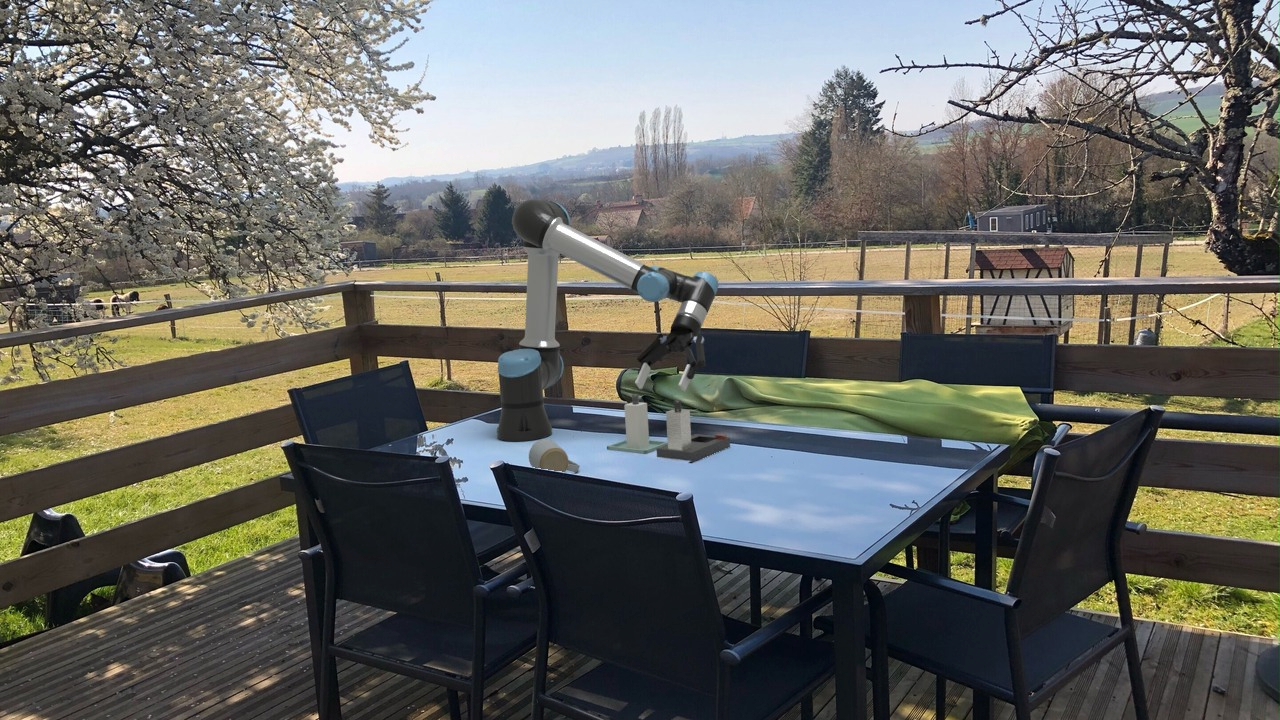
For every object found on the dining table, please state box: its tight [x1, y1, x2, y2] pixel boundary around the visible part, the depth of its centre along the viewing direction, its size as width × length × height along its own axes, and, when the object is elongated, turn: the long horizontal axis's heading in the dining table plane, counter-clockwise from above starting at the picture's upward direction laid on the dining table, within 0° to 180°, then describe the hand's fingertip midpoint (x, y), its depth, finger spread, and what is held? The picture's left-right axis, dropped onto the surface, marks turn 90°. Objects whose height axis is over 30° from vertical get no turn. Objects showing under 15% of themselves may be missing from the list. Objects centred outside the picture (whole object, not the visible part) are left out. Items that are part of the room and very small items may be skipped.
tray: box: [606, 439, 668, 455], centre depth 222 cm, size 12×10×1 cm
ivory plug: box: [624, 393, 650, 449], centre depth 222 cm, size 4×4×13 cm
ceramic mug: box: [528, 438, 580, 473], centre depth 203 cm, size 11×8×8 cm
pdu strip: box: [656, 399, 731, 464], centre depth 215 cm, size 10×17×14 cm, turn 144°
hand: (659, 387), depth 228 cm, fingers open, 13 cm apart
